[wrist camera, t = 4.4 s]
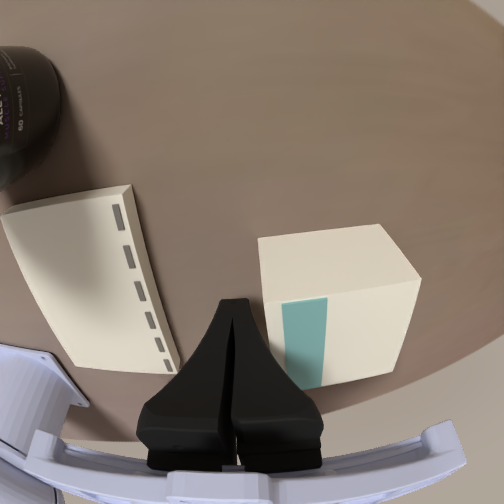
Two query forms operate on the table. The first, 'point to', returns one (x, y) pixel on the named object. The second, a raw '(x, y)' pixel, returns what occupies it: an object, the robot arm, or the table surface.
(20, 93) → the supplement bottle
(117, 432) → the table surface
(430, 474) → the robot arm
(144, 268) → the ticket
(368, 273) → the teal striped cube
